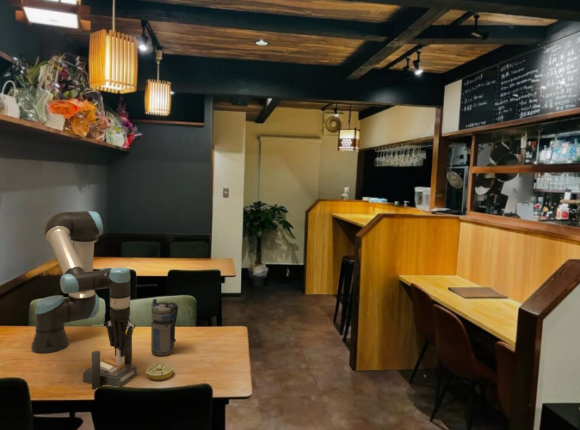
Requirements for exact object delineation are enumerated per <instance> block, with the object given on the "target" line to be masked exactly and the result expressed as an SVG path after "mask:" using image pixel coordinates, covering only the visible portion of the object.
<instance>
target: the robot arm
mask: <svg viewBox="0 0 580 430" xmlns="http://www.w3.org/2000/svg"><path fill="white" fill-rule="evenodd" d="M43 231H44V238H45V240H46V241H47V243H50V245H51V247H52V250H53V253H54V255H55V257H56V259H57V263H58V265H59V268H60V270H61V272H62V275H61V276H60V279H59V285H60V290H61V292H62V293H63V294H68V297H64V295H62V294H61V295H59V294H58V295H51V296H47V297H44V298H41V299H40V300H38V301H36V304H35V309H34V310H35V311H34V315H35V334H34V337H33V341H32V342H31V351H32V352H33V353H37V354H50V353H53V352H58V351H62V350H63V349H66V348H67V347H68V346H69V344H70V343H69V338H68V335H67V332H66V330H65V324H66V323H72V322H76V321H77V322H78V321H81V320H83V321H84V320H88V319H92V318H94V317H95V316H96V315H97V314H98V312H99V308H100V297H99V296H98V294H97V293H96V291H97V290H101V289H102V290H103V289H109V307H110V308H109V317H110V319H109V321H107V322H105V323H104V325H105V328H106V330H107V331H106V332H107V336H108V340H109V345H110V347H113V348H114V356H115V357H116V358H115V360H116V365H121V364H122V363H124V356H125V348H127V347H129V346H130V342H131V338H132V339H133V333H134V329H135V328H136V324H132V323H131V319H130V315H131V307H130V306H131V271H130V269H129V268H128V267H113V268H112V267H103V268H102V269H100V270H99V269H98V270H94V253H95V250H94V249H95V243H96V242H97V241H98V240H99V236H101V235H102V234H103V232H104V225H103V221H102V218H101V215H100V214H99V213H98V212H97V211H89V210H82V211H62V212H58V213H55V214H54V215H53V216H51V217H50V218H49V219H48V220H47V222H46V223H45V226H44V230H43Z"/></svg>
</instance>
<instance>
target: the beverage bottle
mask: <svg viewBox="0 0 580 430" xmlns="http://www.w3.org/2000/svg"><path fill="white" fill-rule="evenodd" d="M178 311H179V305H178V304H176V302H167V301H166V302H165V301H162V302H161V301H160V302H157V298H154V299H153V300H152V302H151V319H152V322H151V326H150V327H151V331H150V332H151V333H150V334H151V337H150V338H151V342H150V343H151V347H150V349H151V350H150V351H151V353H152V355H154V356H157V357H165V356H168V355H171V354H172V353H173V352H174V350H175V343H176V342H177V339H176V338H175V337H176V336H175V335H176V324H177V318H178Z"/></svg>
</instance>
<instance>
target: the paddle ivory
mask: <svg viewBox="0 0 580 430" xmlns="http://www.w3.org/2000/svg"><path fill="white" fill-rule="evenodd" d="M100 368H101V369H103V370H106V371H108V372H110V373H113V372H115V371H117V368H116V367H114V366H111V365H109V364H107V363H104V362H101V361H100Z"/></svg>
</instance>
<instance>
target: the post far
mask: <svg viewBox="0 0 580 430" xmlns="http://www.w3.org/2000/svg"><path fill="white" fill-rule="evenodd" d="M124 363H125V364H130V365H133V337H132V338H131V342H130V346H129V347H127V348H125V356H124Z"/></svg>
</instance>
